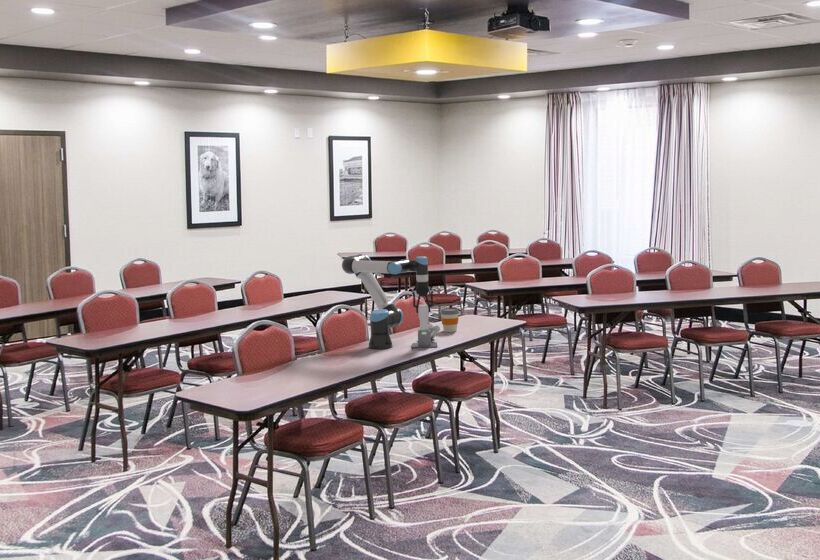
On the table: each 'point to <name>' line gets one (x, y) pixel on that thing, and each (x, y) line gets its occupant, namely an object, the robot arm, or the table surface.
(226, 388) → the table surface
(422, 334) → the stand base
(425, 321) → the column
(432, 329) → the valve
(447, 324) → the reusable coffee cup
